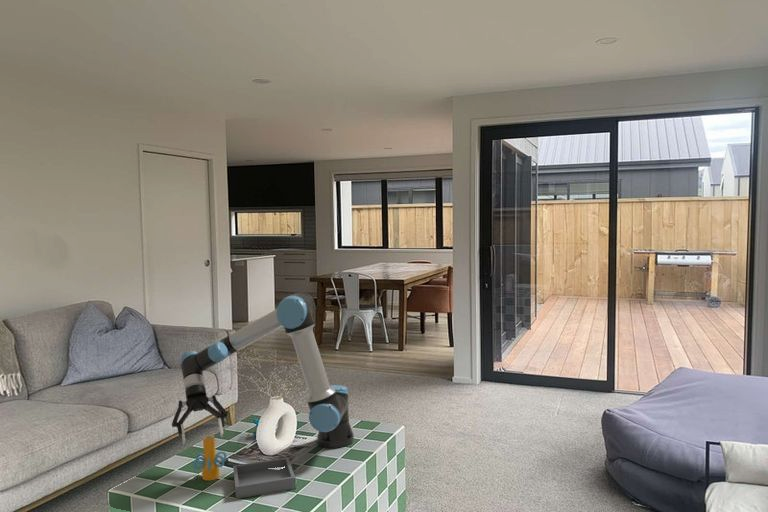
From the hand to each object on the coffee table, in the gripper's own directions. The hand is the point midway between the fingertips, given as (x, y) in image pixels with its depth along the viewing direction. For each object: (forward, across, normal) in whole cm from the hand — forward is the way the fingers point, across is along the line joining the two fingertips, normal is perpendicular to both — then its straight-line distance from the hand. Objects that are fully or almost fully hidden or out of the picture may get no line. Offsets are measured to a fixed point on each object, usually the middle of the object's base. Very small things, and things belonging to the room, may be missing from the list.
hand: (203, 438), depth 217 cm
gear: (-8, -28, -27) cm, 40 cm away
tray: (+23, -17, +5) cm, 29 cm away
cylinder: (+13, -1, -5) cm, 14 cm away
